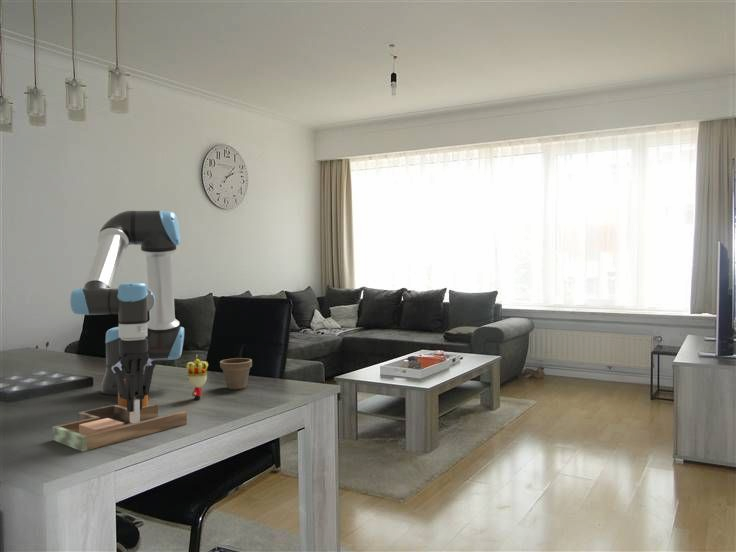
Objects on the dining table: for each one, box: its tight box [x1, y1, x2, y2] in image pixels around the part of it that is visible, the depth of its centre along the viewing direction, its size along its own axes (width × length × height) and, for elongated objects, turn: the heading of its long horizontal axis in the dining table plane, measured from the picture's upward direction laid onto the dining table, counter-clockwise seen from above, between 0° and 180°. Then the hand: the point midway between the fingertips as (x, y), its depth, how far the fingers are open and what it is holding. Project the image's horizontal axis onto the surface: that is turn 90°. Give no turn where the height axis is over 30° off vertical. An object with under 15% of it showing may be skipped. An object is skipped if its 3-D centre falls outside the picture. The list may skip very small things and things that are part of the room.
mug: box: [117, 379, 149, 408], centre depth 186 cm, size 9×12×9 cm
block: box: [79, 418, 125, 436], centre depth 158 cm, size 8×8×4 cm
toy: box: [185, 355, 209, 401], centre depth 200 cm, size 7×7×15 cm
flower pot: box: [219, 357, 253, 390], centre depth 217 cm, size 12×11×10 cm
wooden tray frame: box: [52, 403, 188, 453], centre depth 166 cm, size 25×30×4 cm
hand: (134, 422), depth 166 cm, fingers closed
